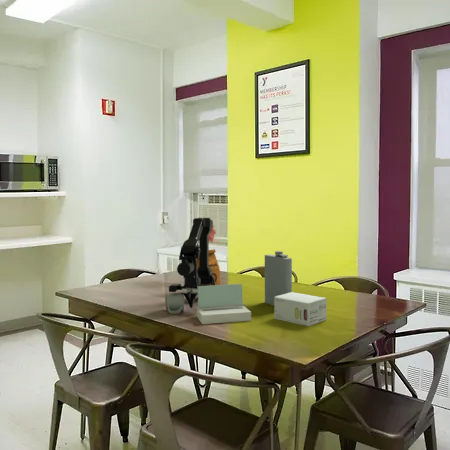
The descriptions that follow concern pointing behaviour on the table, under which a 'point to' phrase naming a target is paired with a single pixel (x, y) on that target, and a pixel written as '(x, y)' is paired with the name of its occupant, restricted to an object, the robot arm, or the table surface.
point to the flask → (277, 276)
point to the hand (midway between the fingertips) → (191, 307)
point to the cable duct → (223, 314)
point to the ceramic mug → (174, 302)
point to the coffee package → (213, 266)
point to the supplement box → (300, 308)
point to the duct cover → (220, 296)
